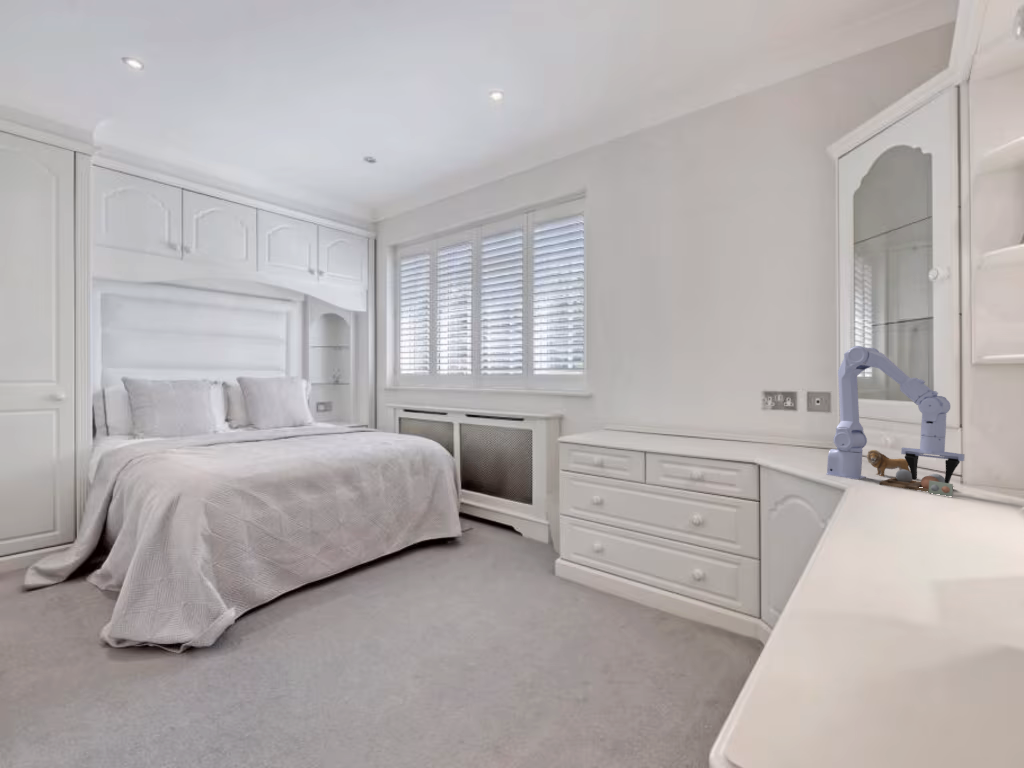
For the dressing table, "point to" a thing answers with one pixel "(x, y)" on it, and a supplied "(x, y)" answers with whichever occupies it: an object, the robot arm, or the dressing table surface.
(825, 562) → the dressing table surface
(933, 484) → the card
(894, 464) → the lion figurine
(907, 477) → the grey ball left
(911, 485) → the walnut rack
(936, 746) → the dressing table surface
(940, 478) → the grey ball right
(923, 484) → the terracotta ball
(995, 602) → the dressing table surface
